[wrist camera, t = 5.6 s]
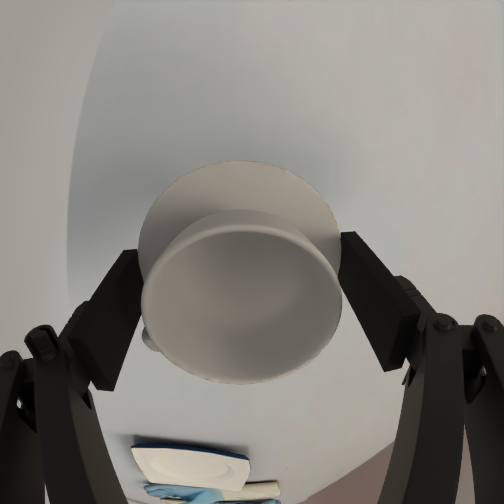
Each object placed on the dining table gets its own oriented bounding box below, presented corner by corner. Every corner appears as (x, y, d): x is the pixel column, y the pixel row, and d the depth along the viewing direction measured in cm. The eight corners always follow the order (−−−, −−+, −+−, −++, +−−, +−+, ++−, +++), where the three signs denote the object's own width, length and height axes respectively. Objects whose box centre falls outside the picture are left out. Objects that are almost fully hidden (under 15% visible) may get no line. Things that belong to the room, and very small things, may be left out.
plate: (148, 472, 46) (146, 482, 44) (126, 430, 37) (123, 443, 35) (244, 481, 48) (244, 492, 45) (254, 443, 39) (255, 457, 37)
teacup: (285, 119, 12) (312, 123, 8) (361, 289, 16) (394, 346, 12) (103, 227, 13) (59, 275, 9) (209, 357, 18) (204, 419, 13)
